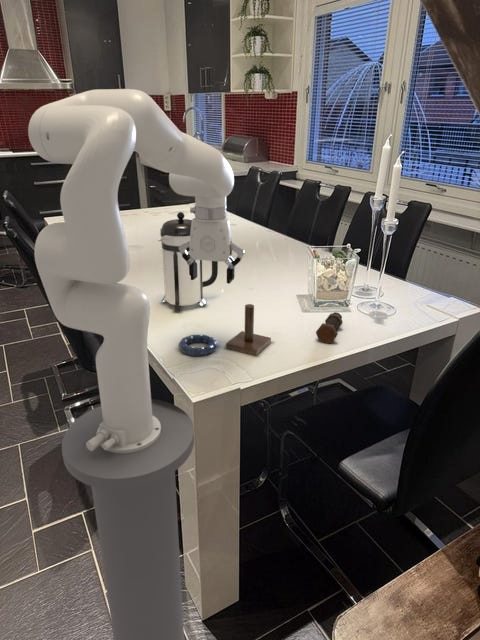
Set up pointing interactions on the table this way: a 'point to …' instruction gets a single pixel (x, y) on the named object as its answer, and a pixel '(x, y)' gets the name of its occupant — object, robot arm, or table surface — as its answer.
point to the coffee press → (181, 266)
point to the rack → (248, 336)
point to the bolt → (329, 328)
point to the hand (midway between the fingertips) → (211, 280)
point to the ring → (198, 351)
